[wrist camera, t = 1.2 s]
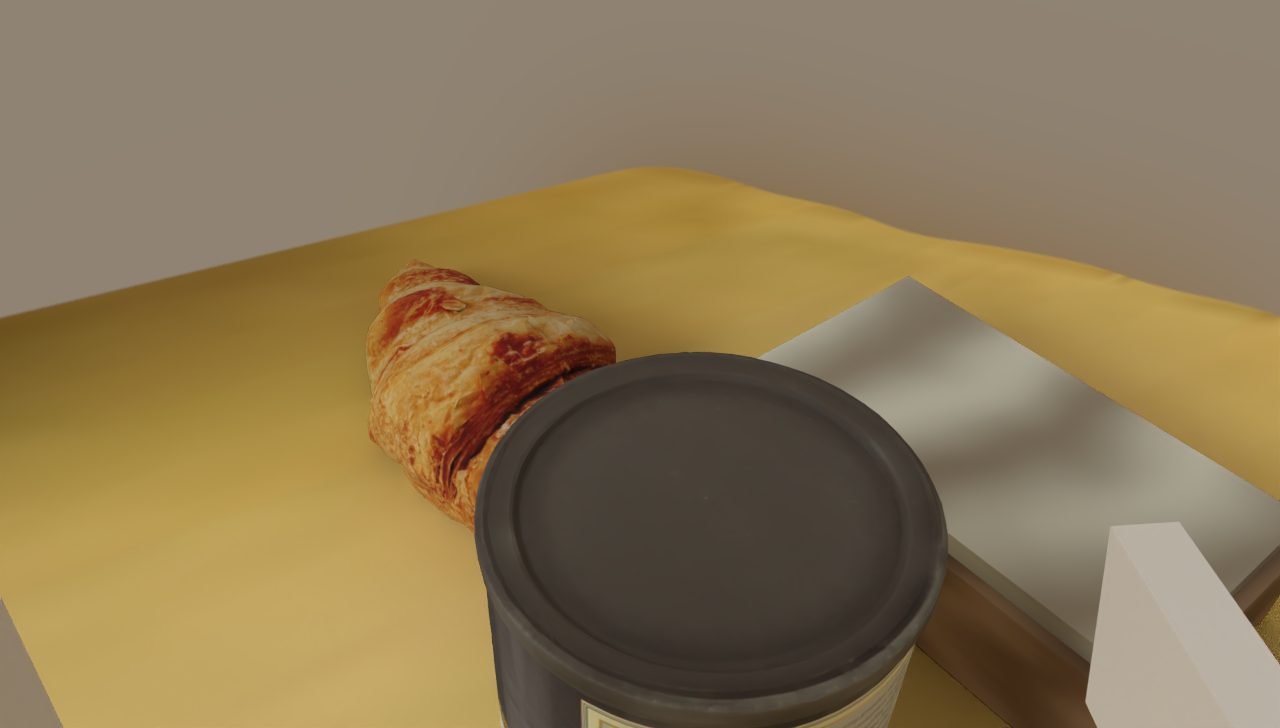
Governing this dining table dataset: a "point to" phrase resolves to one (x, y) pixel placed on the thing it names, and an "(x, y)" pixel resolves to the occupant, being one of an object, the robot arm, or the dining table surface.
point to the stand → (1030, 493)
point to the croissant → (463, 375)
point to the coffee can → (705, 551)
